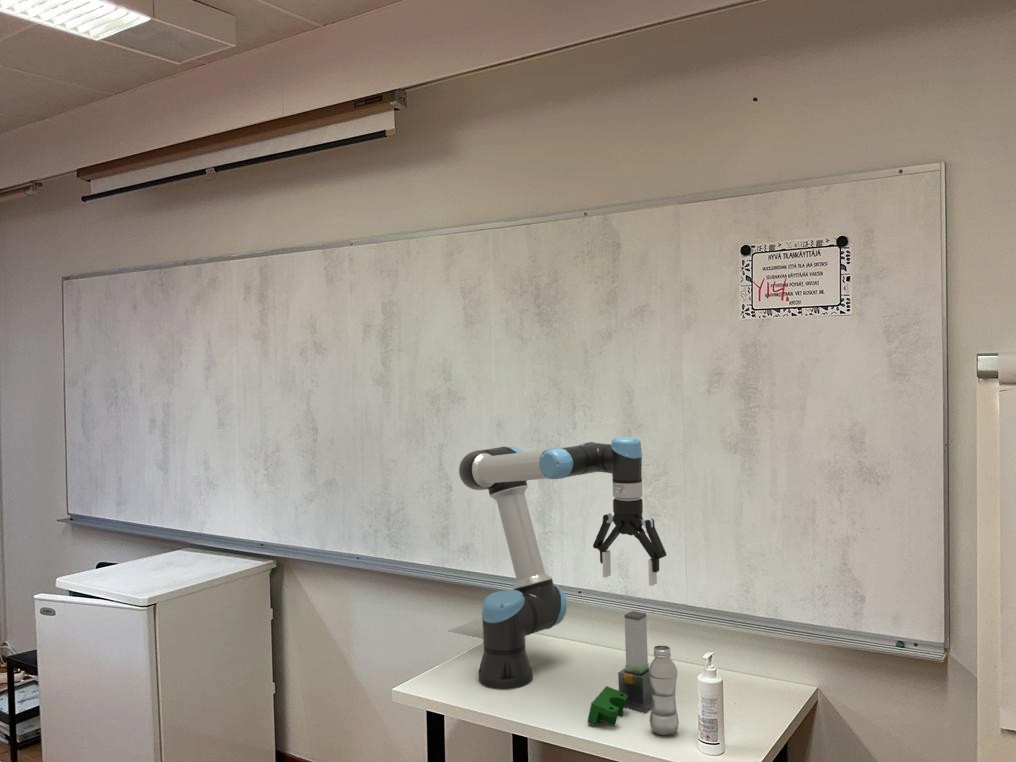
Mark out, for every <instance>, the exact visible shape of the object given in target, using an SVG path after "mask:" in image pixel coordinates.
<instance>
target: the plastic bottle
mask: <svg viewBox="0 0 1016 762" xmlns="http://www.w3.org/2000/svg"><path fill="white" fill-rule="evenodd" d="M653 656H654V658H653V660H652V661H651V663H649V676H650V682H651V692H652V706H651V710H650V714H649V715H650V716H649V726H650V729H651V730H652V731H653V733H655V734H658V735H662V736H670V735H673V734H675V733H676V732H677V731H678V730H679V729H678V728H679V723H680V721H679V716H678V711H677V703H676V688H677V686H676V685H677V680H678V679H677V678H678V668H677V666H676V665H675V662H674V661H673V660H672V659H671V657H672V655H671V647H670V646H667V645H665V644H664V645H663V644H662V645H660V644H659V645H655V646H654V647H653Z"/></svg>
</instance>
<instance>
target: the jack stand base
mask: <svg viewBox="0 0 1016 762" xmlns="http://www.w3.org/2000/svg"><path fill="white" fill-rule="evenodd" d="M617 676H618V677H617V678H618V680H617V681H618V691H620V692H623V693H625V694H626V695H627V696H628V697H627V701H626V703H625V705H624V709H627V708H629V710H631V709H632V711H635V712H638V711H639V713H642V712H643V714H648V711H649V712H651V706H652V692H651V682H650V676H649V669H648V671H647V672H646V673H644V674H642V675H641V676H639V675H634V674H630V673H626V669H625V668H623V669H621V670H620V671H618V673H617Z"/></svg>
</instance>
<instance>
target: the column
mask: <svg viewBox="0 0 1016 762" xmlns="http://www.w3.org/2000/svg"><path fill="white" fill-rule="evenodd" d="M647 626H648V625H647V613H646V612H640V611H635V610H632V611H629V612H628V613H625V614H624V635H625V636H624V639H625V640H624V641H625V665H624V666H625V668H624V669H626V673H630V674H634V675H639V676H641V675H642V674H644V673H646V672H647V671H648V669H649V667H650V663H648V661H649V660H648V659H649V657H648V655H649V653H648V630H647V628H648V627H647Z"/></svg>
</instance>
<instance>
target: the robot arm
mask: <svg viewBox="0 0 1016 762" xmlns="http://www.w3.org/2000/svg"><path fill="white" fill-rule="evenodd" d="M642 464H643V452H642V443H641V440H640V439H639V438H638V437H634V436H633V437H632V436H619V437H614V438H612V439H611V444H608V443H600V442H595V441H591V442H589V441H588V442H581V443H579V444H578V445H573V446H566V447H557V448H551V449H542V450H534V451H533V450H532V451H523V450H522V449H520V448H518V447H516V446H499V447H493V448H489V449H488V448H487V449H479V450H473V451H471V452H469V453H468V454H466V455H465V456H464V457H463V458H462V460H461V461H460V463H459V468H458V473H459V474H458V475H459V477H460V480H461V482H462V483H463V485H465V486H466V487H468V488H469V489H472V490H476V491H484V490H488V494H489V497H490V498H492V499H493V500H494V501H496V504H497V505H496V506H497V508H498V512H499V515H500V520H501V523H502V528H503V531H504V532H503V533H504V536H505V540H506V543H507V548H508V551H509V556H510V560H511V563H512V564H511V565H512V567H513V571H514V574H515V578H516V581H515V582H516V583H515V584H514V585H513V589H506V590H499V591H496V592H493V593H490V594H489V595H487V596H486V597H485V598H484V600H483V602H482V612H481V618H482V620H481V621H482V634H483V636H482V639H483V641H482V642H483V654H482V657H481V661H480V665H479V668H478V673H477V675H478V678H477V679H478V682H479V684H481V685H482V686H483V687H487V688H491V689H495V690H511V689H517V688H522V687H524V686H526V685H528V684H529V683H531V682H532V681H533V678H534V675H533V674H534V672H533V668H532V666H531V663H530V660H529V657H528V654H527V650H526V636H530V635H532V634H535V633H539V632H542V631H544V630H548V629H552V628H553V627H555V626H557V625H559V624H560V623H561V622H562V621H563V620H564V618H565V616H566V613H567V608H568V606H567V604H568V602H567V596H566V594H565V592H564V590H563V589H561V586H559V585H558V584H555V583H554V581H553V578H552V576H550V575H548V574H547V573H546V571H545V567H544V564H543V559H542V557H541V555H542V554H541V552H540V549H539V548H540V547H539V545H538V541H537V537H536V534H535V533H536V532H535V529H534V525H533V522H532V519H531V514H530V511H529V510H530V509H529V506H528V503H527V499H526V495H525V492H526V491H527V489H528V482H527V481H535V480H545V479H550V480H560V479H561V480H562V479H565V478H570V477H575V476H580V475H581V476H582V475H589V474H592V473H607V474H611V475H612V476H611V477H612V497H613V500H612V512H613V515H612V513H610V512H609V513H607V514H603V515H602V523H601V525H600V528H599V531H598V532H597V535H596V538H595V539H594V542H593V544H592V547H593V549H596V550H598V551H599V561H600V564H602V578H603V579H604V578H606V579H607V578H608V577H610V576H611V575H612V568H611V567H612V566H611V564H612V562H611V559H612V558H611V550H609V548H610V546H612V544H613V543H614V542H615V540H616V539H618V536H619V535H628V536H634V538H636V539H637V540H638V541H639V543H640V544H641V546H642V548H644V550H645V551H646V554H648V556H649V557H650V559H648V560H647V561H648V586H649V587H653V586H655V585H656V584H658V580H657V579H658V578H657V577H658V575H657V574H658V572H659V571H660V559H662V558H663V559H664V558H665V557H666V556H667V552H666V549H665V547H664V545H663V543H662V541H661V538H660V536H659V533H658V531H657V529H656V526H655V520H654V518H649V519H644V517H643V513H644V511H643V509H644V507H643V506H644V505H643V501H644V500H643V499H642V497H643V477H642V476H643V475H642V473H643V472H642V469H643V467H642ZM612 523H613V524H614V525H615V526H614V528H613V529H612V530H611V532H610V534H609V535H608V536H607V534H608V532H609V530H610V527H611V526H612ZM643 527H644V528H645V530H646V531H645V530H644V528H643ZM646 533H647V534H646ZM647 535H648V536H647ZM606 536H607V537H606Z"/></svg>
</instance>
